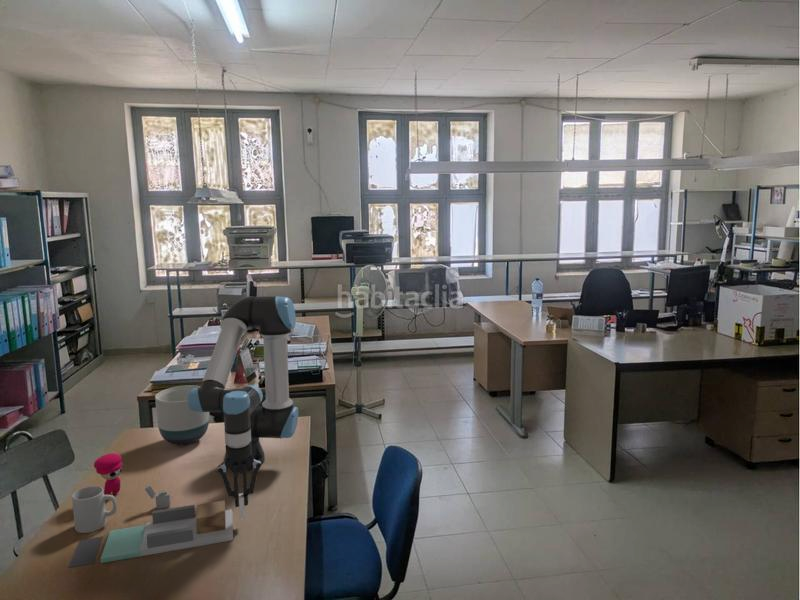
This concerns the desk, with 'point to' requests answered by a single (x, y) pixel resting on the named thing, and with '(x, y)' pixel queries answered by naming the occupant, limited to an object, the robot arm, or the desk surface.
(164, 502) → the lighter
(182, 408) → the planter
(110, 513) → the mug
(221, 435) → the desk surface
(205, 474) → the desk surface
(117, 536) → the tile
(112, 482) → the toy
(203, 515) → the block
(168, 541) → the plate
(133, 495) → the desk surface
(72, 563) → the mat
